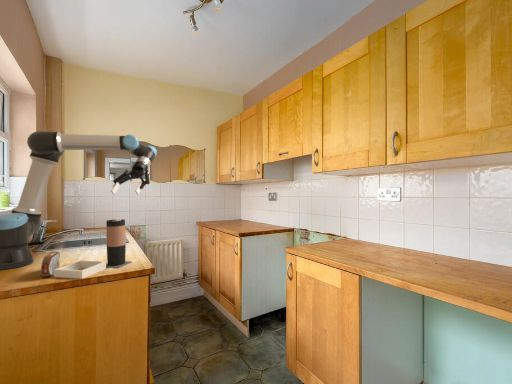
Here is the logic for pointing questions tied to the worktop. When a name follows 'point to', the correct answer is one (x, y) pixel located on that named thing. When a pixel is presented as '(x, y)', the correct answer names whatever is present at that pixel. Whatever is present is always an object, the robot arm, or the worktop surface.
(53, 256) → the brown arched piece
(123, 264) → the mat
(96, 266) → the tray rim
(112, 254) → the travel mug
